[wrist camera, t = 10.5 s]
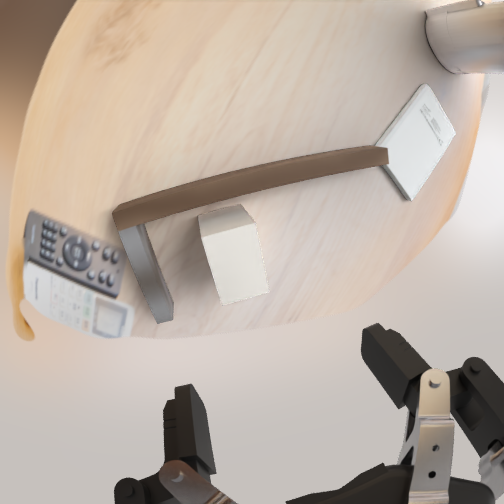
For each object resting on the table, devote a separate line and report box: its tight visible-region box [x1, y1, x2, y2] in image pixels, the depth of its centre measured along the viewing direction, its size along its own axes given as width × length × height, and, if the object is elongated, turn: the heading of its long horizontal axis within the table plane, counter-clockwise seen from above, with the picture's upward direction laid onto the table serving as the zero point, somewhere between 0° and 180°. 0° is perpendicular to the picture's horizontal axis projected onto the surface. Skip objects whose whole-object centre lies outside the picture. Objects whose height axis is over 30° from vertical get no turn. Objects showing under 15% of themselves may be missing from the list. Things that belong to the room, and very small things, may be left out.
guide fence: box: [112, 146, 389, 324], centre depth 25 cm, size 11×25×3 cm, turn 102°
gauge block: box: [198, 204, 270, 306], centre depth 24 cm, size 6×4×6 cm, turn 12°
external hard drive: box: [375, 84, 456, 201], centre depth 26 cm, size 2×8×12 cm
